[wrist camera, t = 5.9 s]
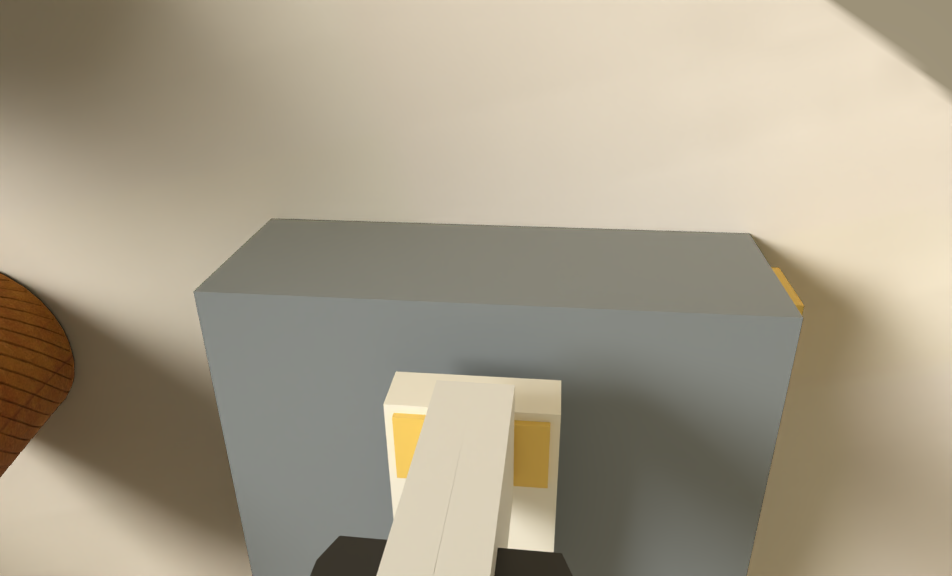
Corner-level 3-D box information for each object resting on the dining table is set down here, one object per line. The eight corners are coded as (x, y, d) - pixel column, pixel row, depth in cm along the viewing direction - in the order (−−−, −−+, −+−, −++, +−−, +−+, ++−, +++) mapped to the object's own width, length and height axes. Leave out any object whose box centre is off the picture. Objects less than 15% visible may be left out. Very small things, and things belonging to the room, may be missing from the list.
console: (335, 659, 30) (287, 810, 25) (271, 218, 21) (175, 309, 16) (683, 693, 29) (709, 863, 23) (768, 234, 20) (841, 339, 14)
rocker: (415, 618, 19) (404, 664, 18) (396, 371, 15) (381, 408, 14) (548, 630, 19) (547, 678, 17) (561, 380, 15) (560, 419, 14)
